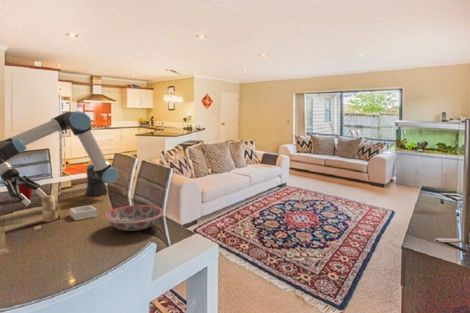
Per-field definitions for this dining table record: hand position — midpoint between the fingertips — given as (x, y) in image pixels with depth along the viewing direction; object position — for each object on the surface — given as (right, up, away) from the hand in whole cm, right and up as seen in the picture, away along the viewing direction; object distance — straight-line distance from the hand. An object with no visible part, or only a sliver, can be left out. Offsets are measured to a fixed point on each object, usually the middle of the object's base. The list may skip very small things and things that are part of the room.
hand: (37, 200), depth 154 cm
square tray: (+19, -10, +10) cm, 24 cm away
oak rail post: (+5, -11, +2) cm, 12 cm away
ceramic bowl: (+55, -13, -7) cm, 57 cm away
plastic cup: (-37, -6, +41) cm, 55 cm away
